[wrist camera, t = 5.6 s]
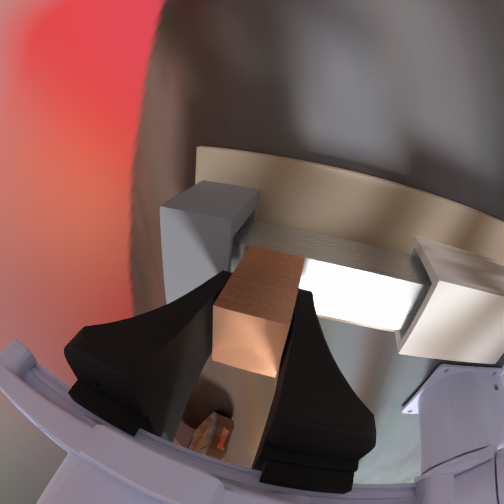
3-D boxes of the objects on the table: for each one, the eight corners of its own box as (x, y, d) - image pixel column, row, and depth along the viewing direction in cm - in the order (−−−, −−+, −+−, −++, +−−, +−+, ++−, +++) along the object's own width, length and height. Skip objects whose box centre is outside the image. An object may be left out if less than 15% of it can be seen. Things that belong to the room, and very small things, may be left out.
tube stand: (517, 227, 12) (559, 267, 7) (461, 337, 17) (478, 388, 12) (201, 145, 16) (150, 162, 11) (197, 281, 21) (163, 328, 16)
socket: (259, 189, 16) (231, 219, 12) (248, 276, 19) (224, 324, 15) (202, 180, 16) (159, 206, 12) (200, 264, 19) (167, 306, 15)
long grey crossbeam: (446, 264, 13) (492, 358, 7) (427, 304, 15) (454, 401, 9) (218, 212, 16) (144, 284, 10) (216, 256, 17) (154, 339, 11)
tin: (221, 402, 29) (196, 461, 22) (245, 413, 29) (223, 472, 22) (192, 432, 37) (172, 473, 30) (209, 440, 37) (191, 481, 30)
